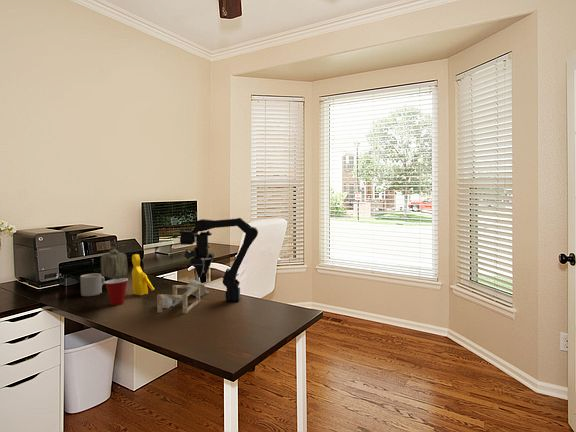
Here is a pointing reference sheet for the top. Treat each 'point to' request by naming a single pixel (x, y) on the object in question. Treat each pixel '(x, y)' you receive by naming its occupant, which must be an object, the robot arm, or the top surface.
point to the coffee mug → (91, 284)
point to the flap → (182, 298)
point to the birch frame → (175, 296)
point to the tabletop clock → (114, 264)
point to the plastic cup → (116, 290)
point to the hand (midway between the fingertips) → (202, 275)
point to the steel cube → (166, 302)
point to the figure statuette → (139, 278)
